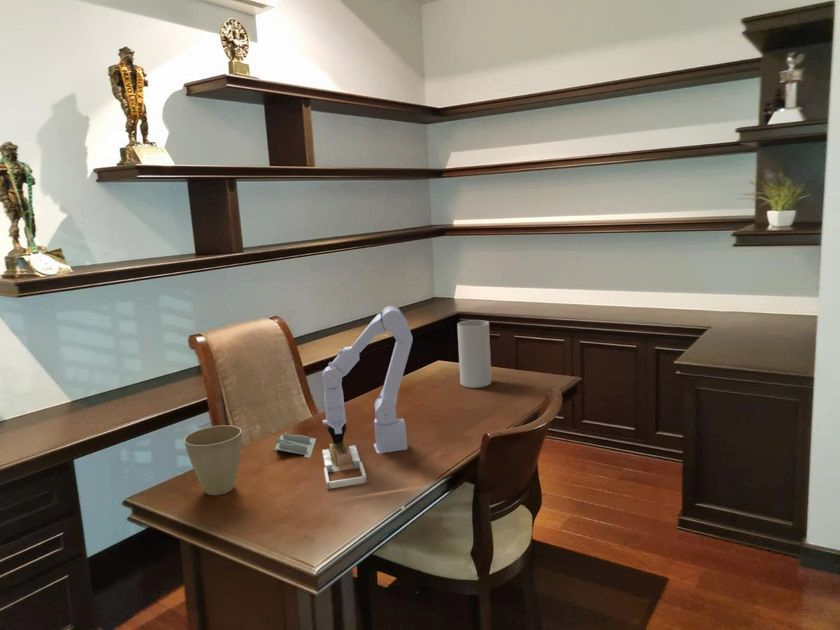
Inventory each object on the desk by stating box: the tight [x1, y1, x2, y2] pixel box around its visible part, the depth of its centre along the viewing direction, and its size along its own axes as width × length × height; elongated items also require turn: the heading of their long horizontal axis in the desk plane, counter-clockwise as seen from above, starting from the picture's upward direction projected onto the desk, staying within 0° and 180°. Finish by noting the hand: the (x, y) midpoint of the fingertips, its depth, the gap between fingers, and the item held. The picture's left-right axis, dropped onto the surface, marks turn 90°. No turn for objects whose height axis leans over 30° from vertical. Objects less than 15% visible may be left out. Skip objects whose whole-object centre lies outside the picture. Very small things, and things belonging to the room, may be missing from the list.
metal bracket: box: [273, 432, 317, 459], centre depth 195 cm, size 14×6×15 cm
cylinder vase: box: [456, 319, 492, 389], centre depth 249 cm, size 12×12×25 cm
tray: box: [323, 461, 368, 490], centre depth 172 cm, size 11×10×2 cm
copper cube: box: [336, 447, 352, 469], centre depth 181 cm, size 4×4×4 cm
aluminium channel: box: [321, 444, 361, 473], centre depth 183 cm, size 10×12×3 cm
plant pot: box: [183, 424, 242, 496], centre depth 170 cm, size 15×15×16 cm
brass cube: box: [329, 441, 345, 462], centre depth 185 cm, size 4×4×4 cm
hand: (338, 447), depth 190 cm, fingers closed
